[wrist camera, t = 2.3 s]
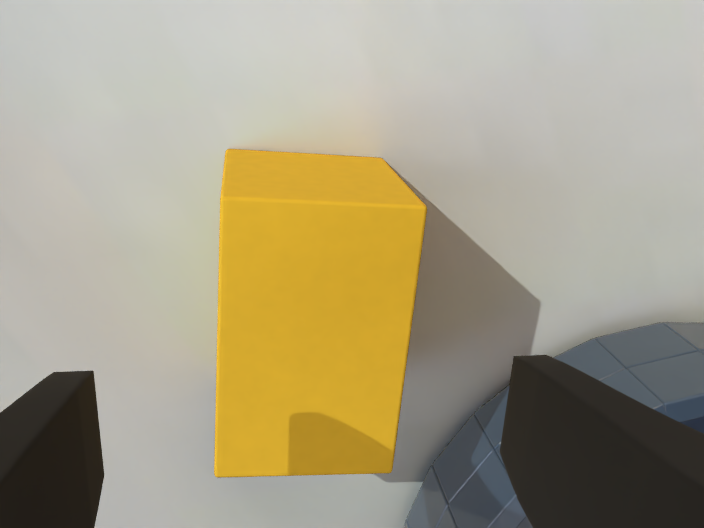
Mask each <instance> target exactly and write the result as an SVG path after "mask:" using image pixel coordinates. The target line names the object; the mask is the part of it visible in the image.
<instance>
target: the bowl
mask: <svg viewBox="0 0 704 528" xmlns="http://www.w3.org/2000/svg"><path fill="white" fill-rule="evenodd" d="M553 358H555V359H557V360H559V361H562V362H564V363H566V364H568V365H570V366H572V367H574V368H576V369H578V370H580V371H582V372H584V373H586V374H588V375H589V376H591V377H593V378H595V379H597V380H599V381H601V382H603V383H604V384H606V385H608V386H610V387H612V388H614V389H616V390H618V391H619V392H621V393H623V394H625V395H627V396H629V397H631V398H633V399H635V400H636V401H638V402H640V403H642V404H644V405H646V406H648V407H650V408H652V409H654V410H656V411H658V412H660V413H662V414H664V415H666V416H668V417H670V418H672V419H674V420H676V421H678V422H680V423H682V424H684V425H687V426H689V427H691V428H693V429H695V430H697V431H699V432H701V433H704V323H680V322H663V323H656V324H651V325H647V326H643V327H638V328H634V329H630V330H626V331H621V332H617V333H613V334H609V335H604V336H600V337H596V338H595V339H594V338H593V339H591V340H589V341H586V342H584V343H582V344H580V345H578V346H576V347H574V348H572V349H570V350H568V351H566V352H564V353H562V354H560V355H558V356H556V357H553ZM509 386H510V385H509ZM509 386H507V387H506V388H505V389H504V390H502V391H501V392H500V393H498V394H497V395H496V396H495V397H493V398H492V399H491V400H490V401H488V402H487V403H486V404H484V405H483V406H482V407H481V408H479V409H478V410H477V411H475V413H474V414H475V415H472V416H471V417H470V418H469V420H468V421H467V422H466V423H465V425H464V426H463V427H462V428H461V429H460V431H459V432H458V433H457V434H456V436H455V437H454V438H453V439H452V440H451V442H450V443H449V444H448V445H447V447H446V448H445V449H444V450H443V451H442V453H441V454H440V455H439V456H438V458H437V459H436V460H435V461H434V463H433V466H431V467H430V469H429V471H428V473H427V475H426V478H425V480H424V482H423V484H422V486H421V488H420V490H419V493H418V495H417V497H416V499H415V501H414V503H413V505H412V508H411V510H410V512H409V514H408V516H407V519H406V522H405V528H533V527H532V525H531V523H530V522H529V520H528V518H527V516H526V514H525V512H524V511H523V509H522V507H521V505H520V503H519V501H518V499H517V496H516V494H515V491H514V489H513V486H512V484H511V481H510V479H509V476H508V473H507V471H506V468H505V465H504V463H503V460H502V457H501V454H500V446H501V439H502V432H503V426H504V419H505V412H506V406H507V399H508V392H509Z"/></svg>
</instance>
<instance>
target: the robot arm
mask: <svg viewBox="0 0 704 528" xmlns="http://www.w3.org/2000/svg"><path fill="white" fill-rule="evenodd" d="M500 454H501V457H502V460H503V463H504V465H505V468H506V471H507V473H508V476H509V479H510V481H511V484H512V486H513V489H514V491H515V494H516V496H517V499H518V501H519V503H520V505H521V507H522V509H523V511H524V512H525V514H526V516H527V518H528V520H529V522H530V523H531V525H532V527H533V528H704V433H701V432H699V431H697V430H695V429H693V428H691V427H689V426H687V425H684V424H682V423H680V422H678V421H676V420H674V419H672V418H670V417H668V416H666V415H664V414H662V413H660V412H658V411H656V410H654V409H652V408H650V407H648V406H646V405H644V404H642V403H640V402H638V401H636V400H635V399H633V398H631V397H629V396H627V395H625V394H623V393H621V392H619V391H618V390H616V389H614V388H612V387H610V386H608V385H606V384H604V383H603V382H601V381H599V380H597V379H595V378H593V377H591V376H589V375H588V374H586V373H584V372H582V371H580V370H578V369H576V368H574V367H572V366H570V365H568V364H566V363H564V362H562V361H559V360H557V359H555V358H552V357H550V356H547V355H534V356H514V359H513V365H512V372H511V379H510V386H509V392H508V399H507V406H506V412H505V419H504V426H503V432H502V439H501V446H500ZM103 478H104V469H103V459H102V449H101V440H100V430H99V420H98V411H97V401H96V391H95V382H94V372H93V371H74V372H54V373H52V374H51V375H49V376H48V377H46V378H45V379H43V380H42V381H41V382H39V383H38V384H37V385H35V386H34V387H33V388H32V389H30V390H29V391H28V392H26V393H25V394H24V395H23V396H21V397H20V398H19V399H18V400H16V401H15V402H14V403H12V404H11V405H10V406H9V407H7V408H6V409H5V410H3V411H2V412H1V413H0V528H94V526H95V521H96V516H97V511H98V506H99V500H100V495H101V489H102V484H103Z"/></svg>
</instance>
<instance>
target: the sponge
mask: <svg viewBox="0 0 704 528" xmlns="http://www.w3.org/2000/svg"><path fill="white" fill-rule="evenodd" d="M426 214H427V207H426V205H425V204H424V203H423V202H422V201H421V200H420V199H419V198H418V197H417V195H416V194H415V193H414V192H413V191H412V190H411V189H410V188H409V187H408V186H407V185H406V183H405V182H404V181H403V180H402V179H401V178H400V177H399V176H398V175H397V174H396V173H395V172H394V170H393V169H392V168H391V167H390V166H389V165H388V164H387V163H386V162H385V161H384V160H383V159H382V158H374V157H358V156H341V155H324V154H307V153H290V152H273V151H256V150H239V149H227V150H226V153H225V162H224V171H223V180H222V189H221V198H220V236H219V282H218V327H217V373H216V418H215V464H214V474H215V476H216V477H254V476H293V475H333V474H373V473H391V471H392V468H393V460H394V453H395V446H396V438H397V431H398V423H399V416H400V408H401V401H402V393H403V386H404V378H405V371H406V363H407V356H408V348H409V341H410V333H411V326H412V318H413V311H414V303H415V296H416V288H417V281H418V273H419V266H420V259H421V251H422V244H423V236H424V229H425V221H426Z"/></svg>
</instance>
